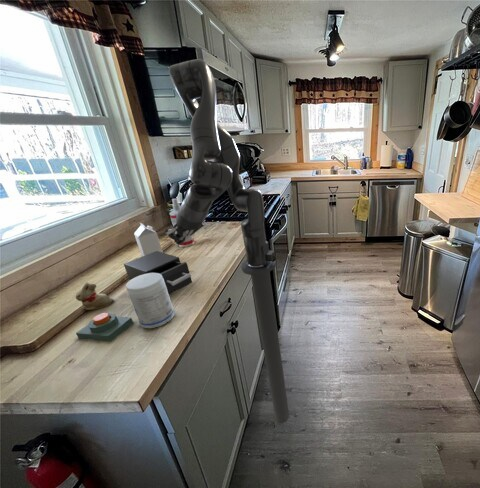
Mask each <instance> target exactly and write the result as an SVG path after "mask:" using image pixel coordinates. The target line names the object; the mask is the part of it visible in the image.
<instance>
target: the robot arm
mask: <svg viewBox="0 0 480 488" xmlns="http://www.w3.org/2000/svg"><path fill="white" fill-rule="evenodd" d="M168 75H169V78H170V80H171V83H172V85H173V87H174V89H175V92H176V93H177V94H178V96H179V99H180V100H181V101H182V103H183V105H184V107H185V108H186V110H187V112H188V113H189V115H190V117H191V118H192V119H191V121H190V127H189V129H190V130H189V131H190V139H191V146H192V156H191V162H190V167H189V170H188V172H189V173H188V175H189V179H190V181H191V182H192V184H191V185H190V186H189V188H188V190H187V193H186V195H185V196H184V198H183V201H182V202H181V204H180V209H179V211H178V213H177V216H176V224H175V225H174V226H173V225H172V227H173V228H171V229H170V228H167V229H165V230H164V232H165V234H166V235H167V236H168V237H169V238H170V240H171V239H172V240H173V241H174V243H175V244H176V245H178V246H179V245H180V244H183V242H184V241H185V239H186V238H187V237H188V236H189V235H190V236H191V235H193V236H194V234H195V233H197V232H198V231H199V230H200V229H202V228H203V227H204V226H205V224H204V221H205V219H206V218H207V216H208V215H209V212H210V208H211V206H212V205H213V203H214V201H215V200H217V199H218V198H219V197H220V196H222V195H223V194H224V193H225V192H226V191H227V193H228V196H229V198H230V201H231V203H232V205H233V207H234V208H235V209H236V210H237V211H240V212H245V213H247V218H245V219H243V220H242V221H240V227H241V233H242V238H243V239H242V240H243V245H244V252H245V257H246V260H247V264H248V267H250V268H262V267H267V265H268V264H269V262H270V261H272V262H274V261H276V260H277V256H276V253H275V250H271V249H270V245H269V241H267V237H266V236H267V235H266V228H265V219H266V217H265V203H264V197H263V194H262V192H261V191H260V190H259V189H255V188H245V186H244V184H243V182H242V180H241V178H240V163H241V155H240V152H239V150H238V147H237V145H236V142H235V140H234V138H233V136H232V135H231V134H230V132H228V131H227V130H226V129H225V128H224V127H223V126H221V125H220V124H219V123H217V86H216V80H215V77H214V74H213V72H212V70H211V68H210V67H209V65H208V64H207V62H206V61H205V60H203V59H202V58H196V59H191V60H186V61H182V62H179V63H175V64H172V65H170V66H169V67H168ZM198 99H199V102H198ZM176 231H177V232H176ZM175 232H176V234H175Z"/></svg>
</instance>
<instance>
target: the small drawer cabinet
mask: <svg viewBox="0 0 480 488" xmlns="http://www.w3.org/2000/svg"><path fill="white" fill-rule="evenodd" d="M180 259H181V258H180V256H179V257H178V256H176V255H173V254H169V253H165V252H163V253H162V252H159V251H155V252H153V253H150V254H148V255H145V256H143V257H142V256H141V257H138V258H135V259H132V260H129V261H128V262H125V263H123V267H124V269H125V271H126V274H127V277H128V280H129V281H130V280H131V279H133V278H135V277H137V276H140V275H143V274H148V273H149V272H152V271H154V270H156V269H158V268H161V267H163V266H165V265H167V264H170V263H172V262H174V261H177V262H181V260H180Z"/></svg>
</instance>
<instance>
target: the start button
mask: <svg viewBox="0 0 480 488" xmlns="http://www.w3.org/2000/svg"><path fill="white" fill-rule="evenodd" d="M108 313H109V312H102V313H99V314H97V315H95V316H94V317H93V318H92V320H93V321H94V323H95V325H100V324H103V323H105V322H107V321H109V320H110V317H109V315H108Z"/></svg>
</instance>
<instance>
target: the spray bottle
mask: <svg viewBox="0 0 480 488" xmlns="http://www.w3.org/2000/svg"><path fill="white" fill-rule="evenodd" d="M171 201H172V209H173V210H172V211H170V212H169V217H170V221H171V224H172V227H173V226H174V225H175V224H176V216H177V213H178V211H179V209H180V206H181V204H180V203H179V201H178V198H172V199H171ZM176 232H177V231H176ZM176 232H175V234H176ZM194 244H195V239H194V234H193V235H191V236H190V235H189V236H188V237H187V238H186V239H185V241H184V242H183V244H180V245H178V246H179V248H186V247H190V246H193V245H194Z"/></svg>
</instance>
